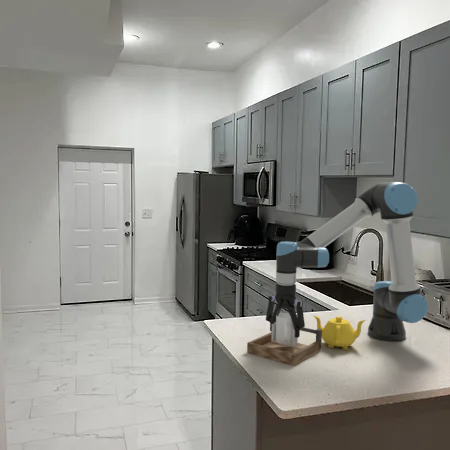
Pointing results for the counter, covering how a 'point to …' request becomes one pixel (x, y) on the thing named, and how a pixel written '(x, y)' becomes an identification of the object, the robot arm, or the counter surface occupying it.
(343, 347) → the teapot
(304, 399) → the counter surface
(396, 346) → the counter surface
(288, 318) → the mug
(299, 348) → the wooden serving tray
